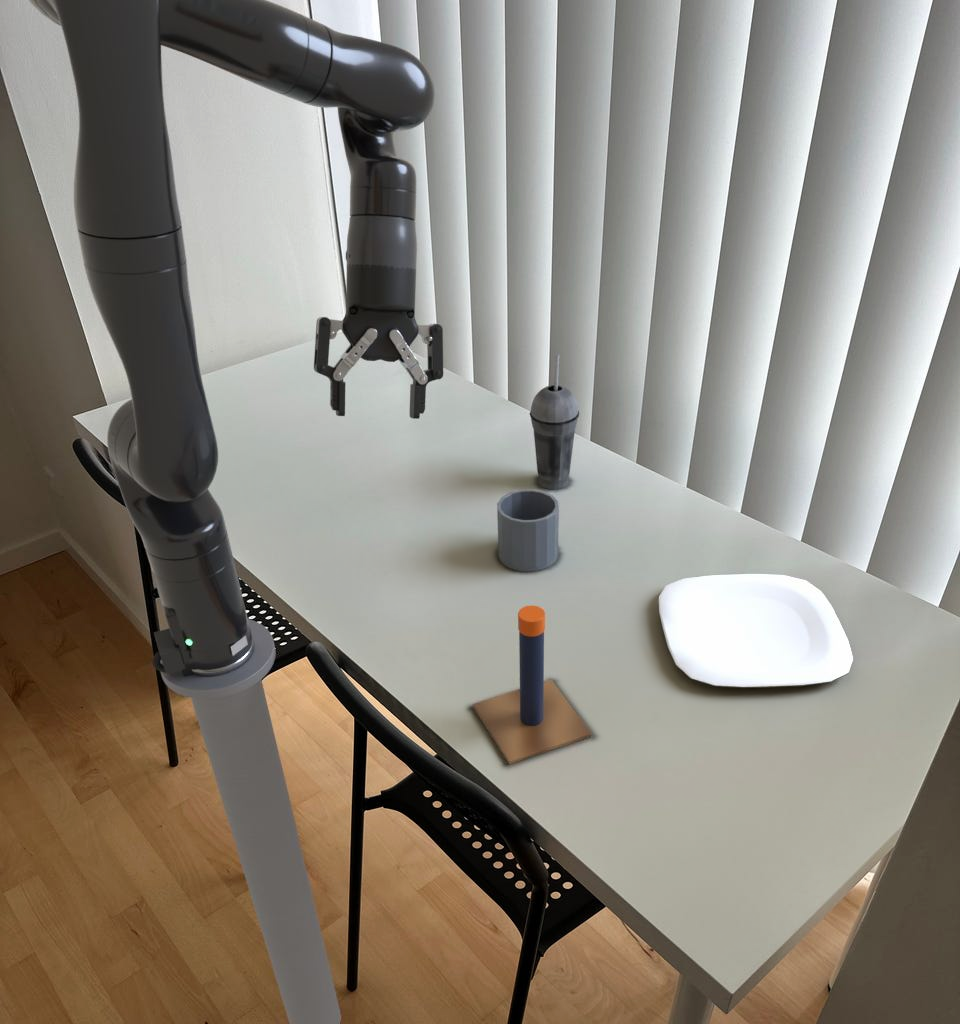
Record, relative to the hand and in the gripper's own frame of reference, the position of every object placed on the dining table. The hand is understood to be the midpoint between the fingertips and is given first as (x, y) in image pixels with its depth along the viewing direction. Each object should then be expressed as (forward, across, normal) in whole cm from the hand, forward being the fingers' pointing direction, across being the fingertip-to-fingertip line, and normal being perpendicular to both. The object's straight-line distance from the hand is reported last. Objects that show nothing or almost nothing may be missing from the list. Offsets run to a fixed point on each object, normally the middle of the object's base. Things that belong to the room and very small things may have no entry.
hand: (378, 416), depth 111 cm
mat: (+32, +15, -16) cm, 39 cm away
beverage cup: (+12, +34, +30) cm, 46 cm away
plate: (+24, +45, -12) cm, 52 cm away
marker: (+31, +15, -16) cm, 38 cm away
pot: (+19, +24, +14) cm, 34 cm away
